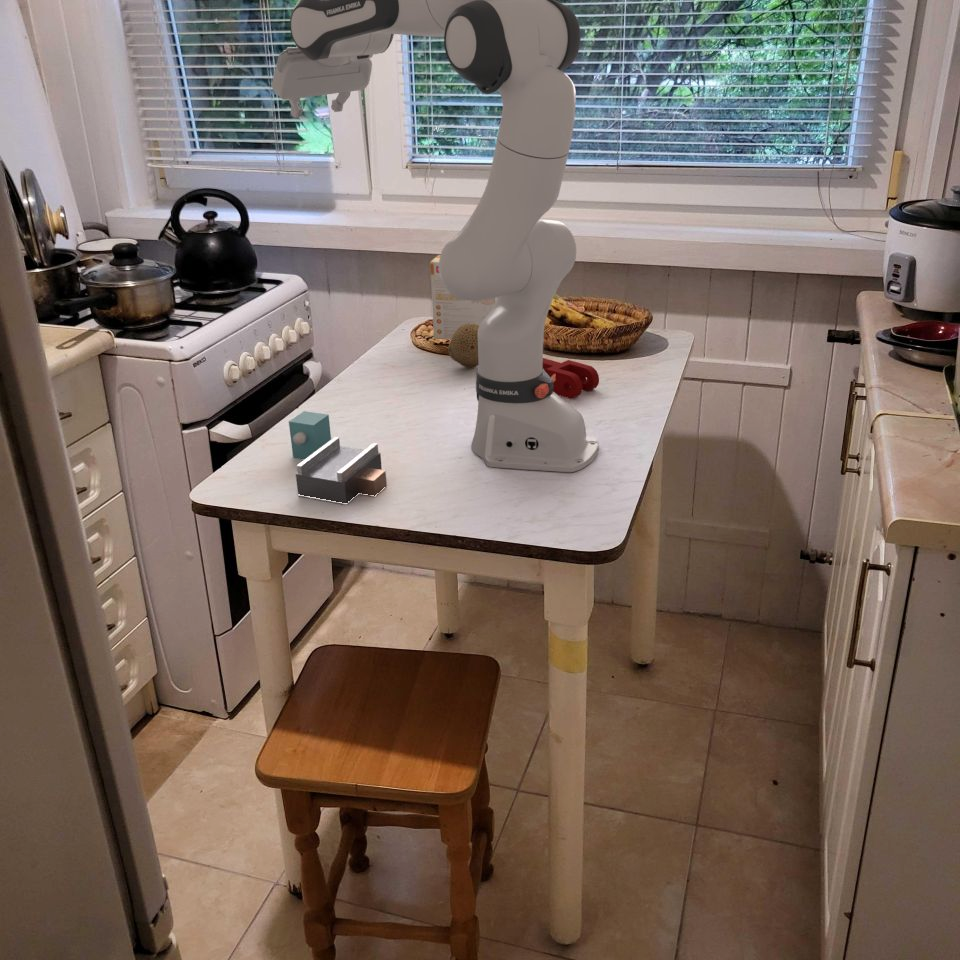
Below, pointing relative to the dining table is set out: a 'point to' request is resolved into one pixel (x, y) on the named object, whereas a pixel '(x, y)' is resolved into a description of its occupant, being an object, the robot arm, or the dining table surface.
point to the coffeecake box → (453, 307)
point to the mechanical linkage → (571, 377)
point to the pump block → (309, 433)
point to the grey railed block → (341, 472)
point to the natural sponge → (465, 345)
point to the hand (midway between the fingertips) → (316, 113)
